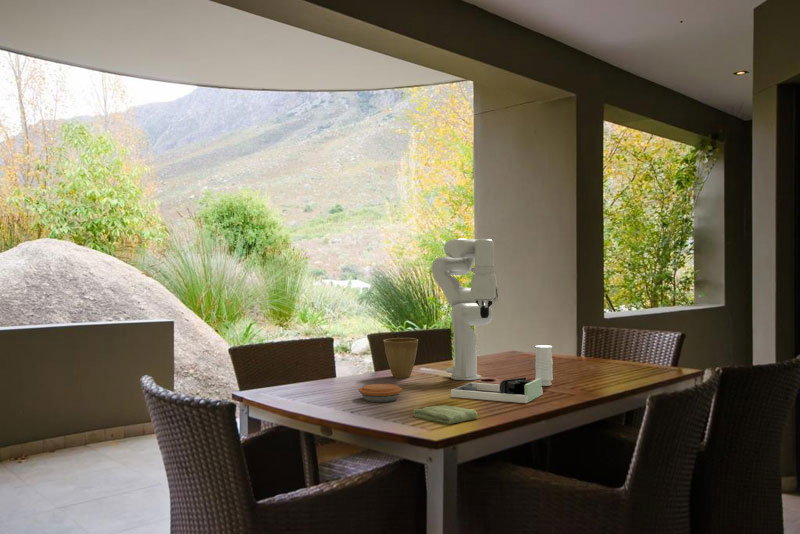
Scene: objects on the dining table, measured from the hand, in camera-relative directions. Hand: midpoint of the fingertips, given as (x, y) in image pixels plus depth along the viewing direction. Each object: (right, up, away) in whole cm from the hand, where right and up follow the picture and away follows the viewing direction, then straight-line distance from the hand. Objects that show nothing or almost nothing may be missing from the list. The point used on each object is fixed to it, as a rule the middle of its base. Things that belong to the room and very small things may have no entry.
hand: (484, 317), depth 262 cm
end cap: (+8, -27, -25) cm, 37 cm away
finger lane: (+2, -27, -20) cm, 33 cm away
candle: (+24, -27, +3) cm, 36 cm away
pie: (-40, -27, -24) cm, 54 cm away
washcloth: (-19, -27, -55) cm, 65 cm away
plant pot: (-32, -28, +27) cm, 50 cm away
